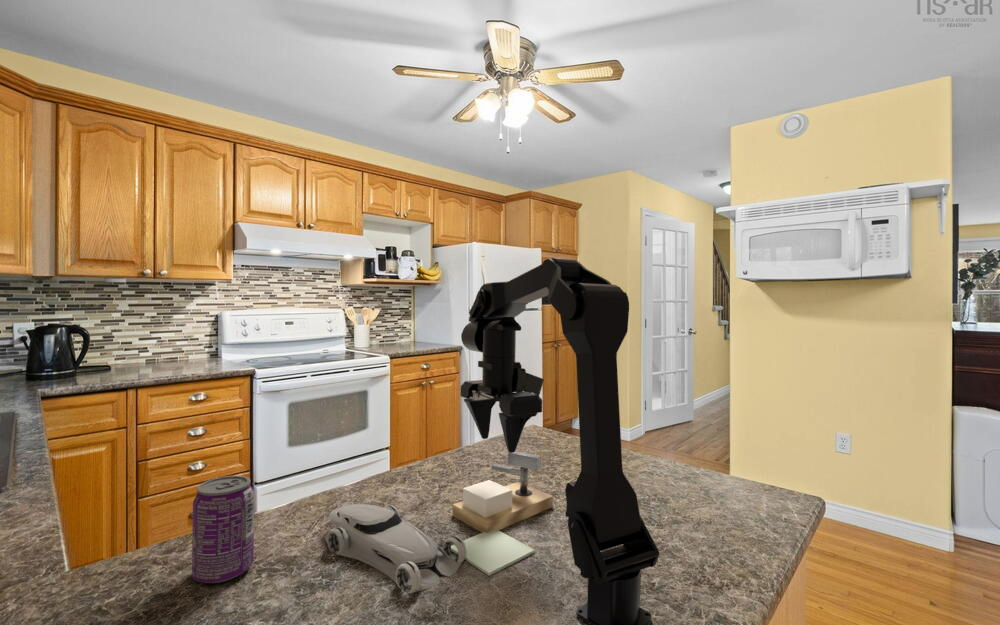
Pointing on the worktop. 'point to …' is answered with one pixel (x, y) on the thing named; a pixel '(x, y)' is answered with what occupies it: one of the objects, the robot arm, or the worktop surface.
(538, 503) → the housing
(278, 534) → the worktop surface
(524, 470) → the lever handle
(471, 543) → the pad
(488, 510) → the cover
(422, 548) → the car model
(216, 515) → the beverage can
